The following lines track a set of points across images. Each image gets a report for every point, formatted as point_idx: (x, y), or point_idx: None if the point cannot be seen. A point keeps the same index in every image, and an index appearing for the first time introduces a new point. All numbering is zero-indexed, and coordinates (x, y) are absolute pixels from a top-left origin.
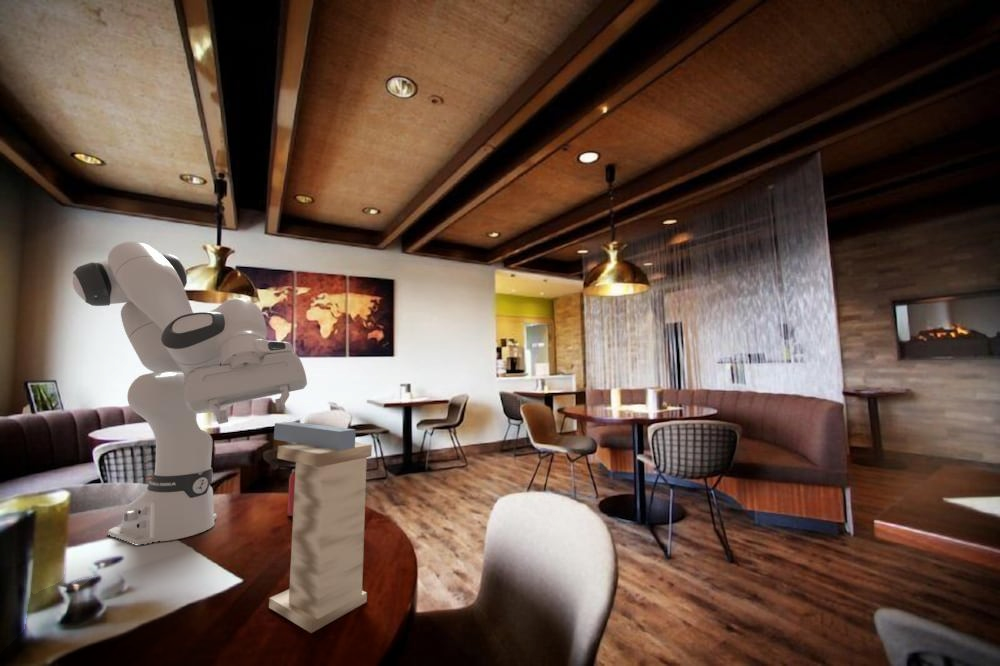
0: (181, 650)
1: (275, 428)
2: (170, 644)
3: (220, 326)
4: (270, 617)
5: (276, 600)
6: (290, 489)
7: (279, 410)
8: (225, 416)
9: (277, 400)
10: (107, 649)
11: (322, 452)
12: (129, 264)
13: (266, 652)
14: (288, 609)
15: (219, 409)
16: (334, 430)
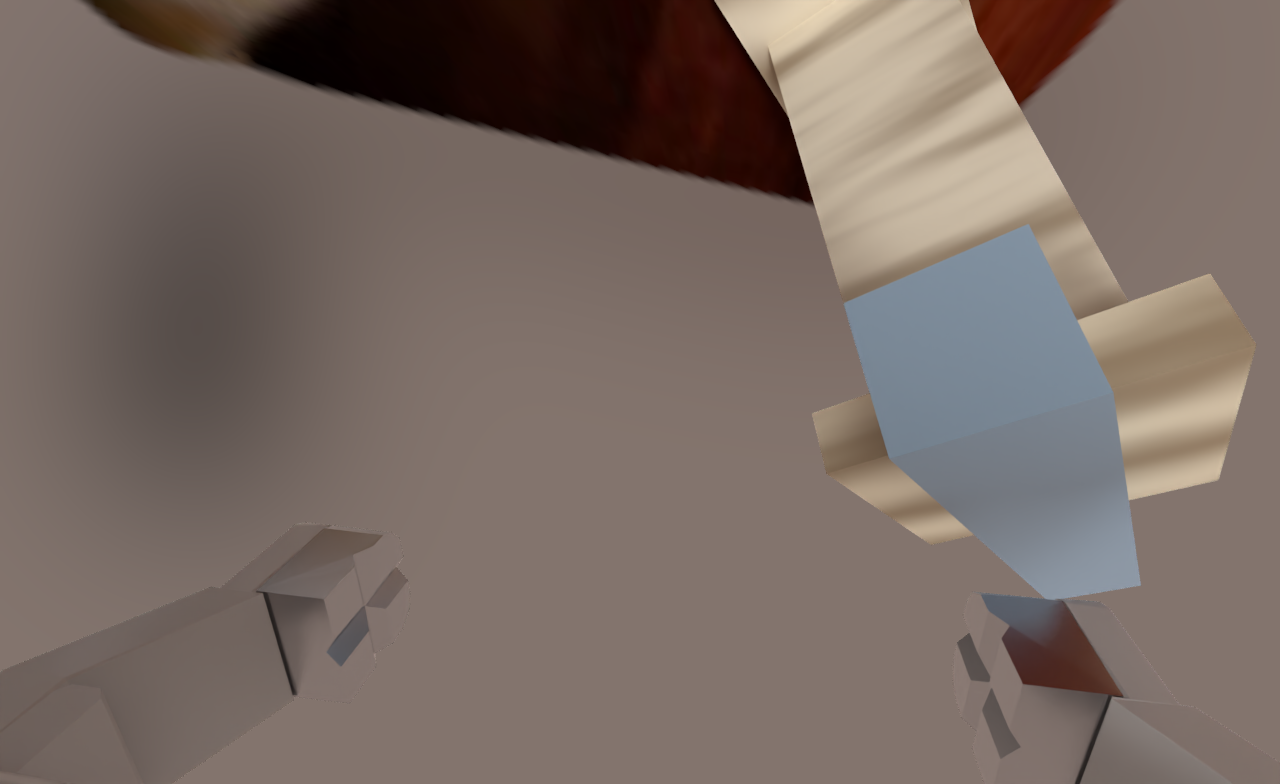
0: (534, 119)
1: (880, 410)
2: (494, 90)
3: None
4: (715, 37)
5: (733, 19)
6: None
7: (1002, 597)
8: (395, 626)
9: (1012, 774)
10: (338, 68)
11: (950, 537)
12: None
13: (715, 169)
14: (764, 78)
15: (100, 695)
16: (1049, 594)
